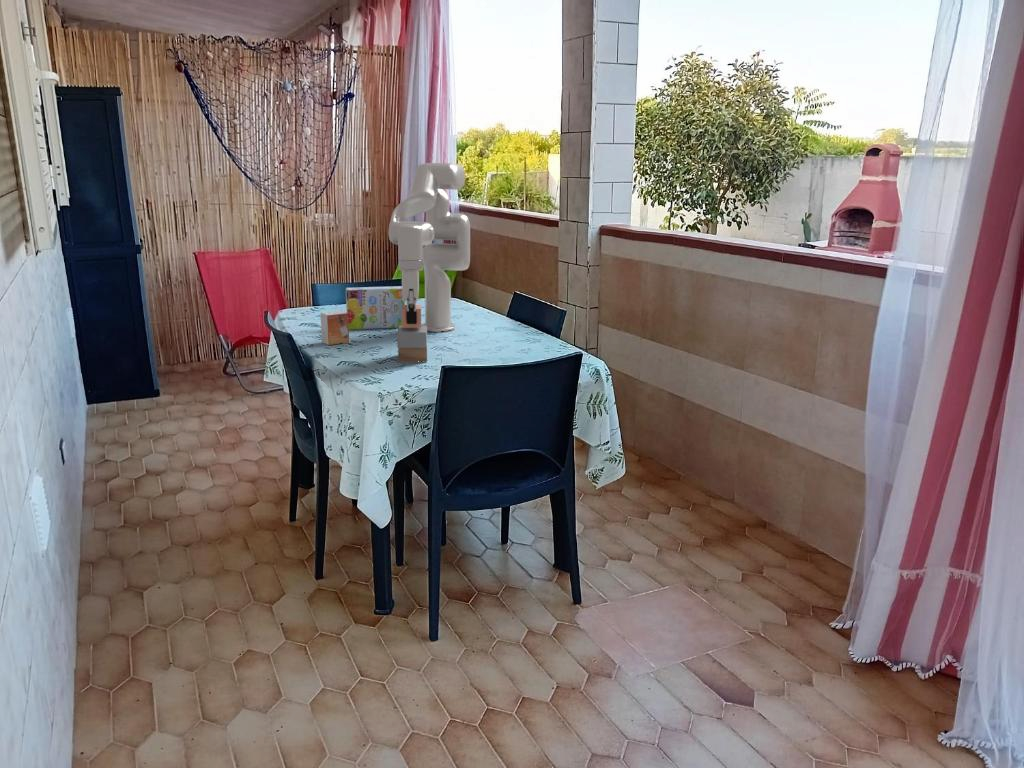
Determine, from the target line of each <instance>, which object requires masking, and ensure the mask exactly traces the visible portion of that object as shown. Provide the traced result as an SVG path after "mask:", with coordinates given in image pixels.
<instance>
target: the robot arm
mask: <svg viewBox="0 0 1024 768" xmlns="http://www.w3.org/2000/svg"><path fill="white" fill-rule="evenodd" d="M414 173H415V174H414V177H413V178H414V179H413V183H412V187H411V191H410V195H409V196H407V197H406V198H405V199H404V200H402V201H401V202H400V203H399V204H397V206H395V208H394V209H393V211H392V213H391V216H390V217H391V218H390V221H389V226H388V239H389V241H390V242H391V243H392V244H394V245H397V248H398V251H397V253H398V270H399V271H401V286H402V301H403V302H404V301H405V302H406V305H407V311H406V320H407V324H417V311H416V305H417V303H418V301H419V293H420V292H419V291H420V271H424V273H423V274H424V322H423V323H421V326H427V332H432V333H433V332H434V333H436V332H437V333H442V332H441V331H444V332H450V331H453V330H455V329H456V325H455V324H453V323H452V320H451V319H452V318H451V315H452V311H451V310H452V309H451V308H452V307H451V305H452V301H451V300H452V296H451V295H452V294H451V293H452V291H451V288H452V287H451V286H452V285H451V284H452V283H451V280H450V277H449V276H448V275H447V273H446V272H445V271H460V272H461V271H466V270H468V269H469V267H470V263H471V223H470V219H469V217H468V215H466V214H464V213H453V212H452V213H451V212H450V198H449V195H448V194H447V192H446V191H445V190H453V191H455V190H457V191H458V190H461V189H462V188H463V187H464V185H465V182H466V172H465V168H464V166H463V165H461V164H458V163H450V162H449V163H447V162H445V163H444V162H425V163H421V164H418V165H417V166H416V168H415V171H414ZM423 213H424V214H425V221H415V220H414V221H413V220H408V219H410V218H412V217H415V216H418V215H421V214H423ZM433 240H439V241H440V240H442V241H444V240H445V241H455V242H456V243H446V242H445V243H442V242H441V243H439V242H435V243H432V242H433ZM454 328H455V329H454ZM449 330H450V331H449Z"/></svg>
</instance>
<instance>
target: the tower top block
mask: <svg viewBox="0 0 1024 768" xmlns="http://www.w3.org/2000/svg"><path fill="white" fill-rule="evenodd" d="M396 333H397V334H396V335H397V336H396V337H397V338H396V340H397V341H396V342H397V343H396V344H397V349H398V348H426V346H427V347H428V331H427V326H421V328H402V326H399V328H397V331H396Z"/></svg>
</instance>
